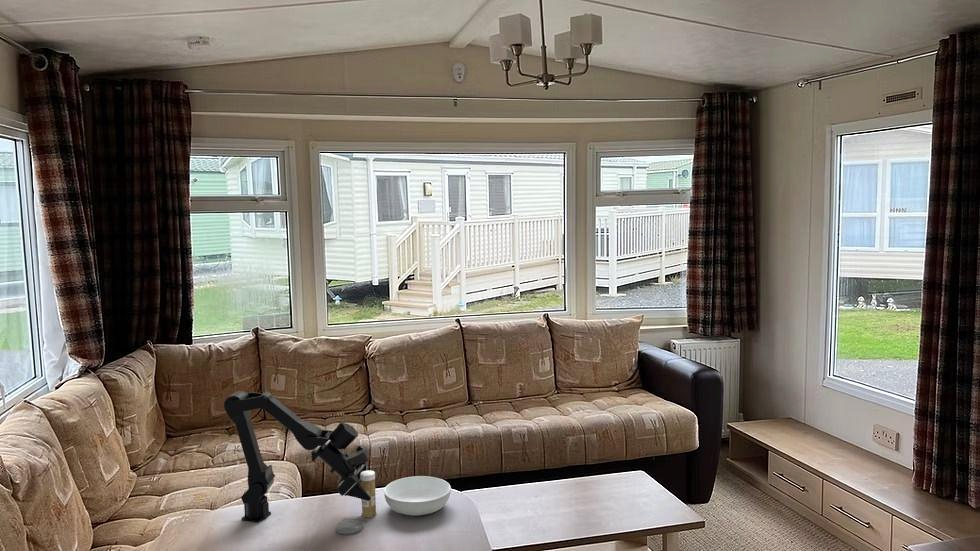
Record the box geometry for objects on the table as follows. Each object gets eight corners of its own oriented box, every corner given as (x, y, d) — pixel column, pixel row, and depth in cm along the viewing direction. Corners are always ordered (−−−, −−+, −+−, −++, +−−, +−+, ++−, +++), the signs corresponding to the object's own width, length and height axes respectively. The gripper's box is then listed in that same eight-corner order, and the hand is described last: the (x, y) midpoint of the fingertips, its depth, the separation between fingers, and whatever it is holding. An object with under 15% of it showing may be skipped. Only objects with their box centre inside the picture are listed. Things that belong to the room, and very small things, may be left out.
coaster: (330, 532, 196) (330, 530, 196) (344, 521, 203) (344, 518, 203) (355, 536, 193) (355, 533, 193) (368, 524, 201) (368, 521, 201)
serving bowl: (448, 523, 200) (448, 501, 200) (378, 524, 201) (378, 502, 200) (453, 495, 221) (453, 475, 221) (390, 495, 222) (389, 475, 221)
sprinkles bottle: (378, 515, 207) (377, 473, 206) (365, 519, 204) (363, 476, 203) (372, 510, 211) (371, 468, 209) (359, 513, 208) (357, 471, 207)
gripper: (346, 451, 196) (385, 487, 197) (359, 431, 215) (394, 464, 216) (321, 478, 197) (360, 513, 198) (335, 455, 215) (371, 488, 216)
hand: (372, 493), depth 207 cm, fingers open, 9 cm apart
